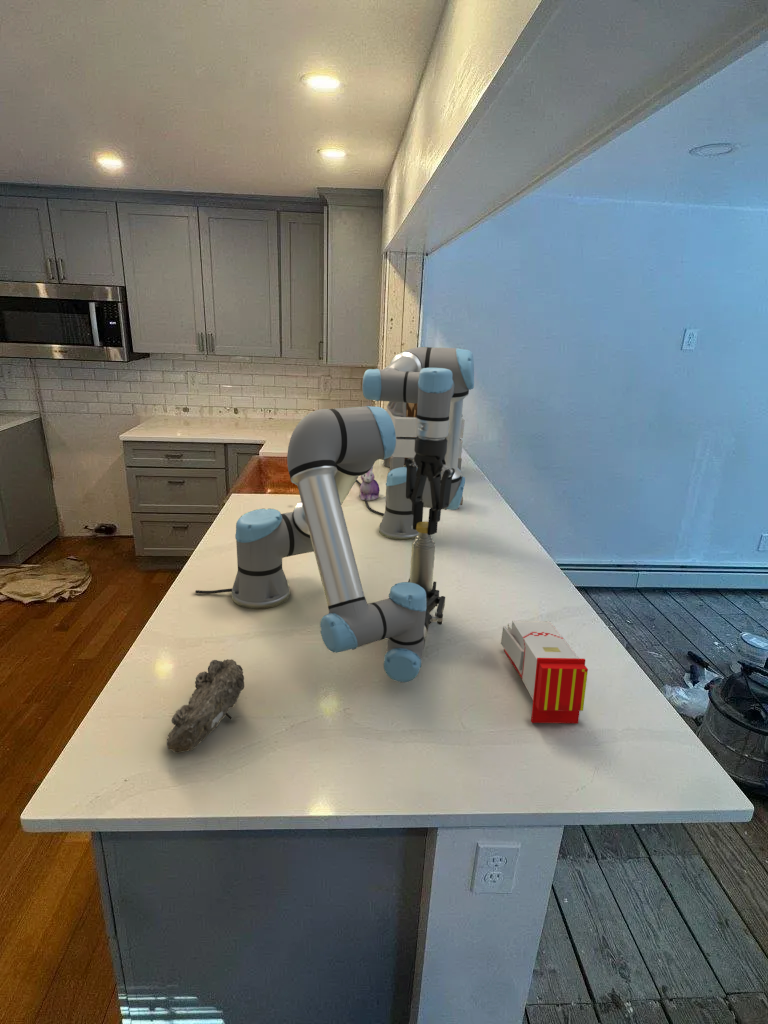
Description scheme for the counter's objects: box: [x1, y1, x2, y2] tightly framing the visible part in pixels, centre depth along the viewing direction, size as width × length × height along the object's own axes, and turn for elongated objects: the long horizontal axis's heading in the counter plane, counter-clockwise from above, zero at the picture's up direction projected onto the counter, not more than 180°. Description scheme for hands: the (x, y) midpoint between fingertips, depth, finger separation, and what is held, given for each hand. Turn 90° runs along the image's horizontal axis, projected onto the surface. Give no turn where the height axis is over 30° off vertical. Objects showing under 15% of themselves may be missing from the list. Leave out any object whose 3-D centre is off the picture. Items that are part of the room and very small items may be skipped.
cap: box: [416, 521, 428, 533], centre depth 139 cm, size 4×4×2 cm
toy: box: [500, 620, 589, 724], centre depth 121 cm, size 12×13×30 cm
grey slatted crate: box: [383, 401, 465, 472], centre depth 268 cm, size 34×33×41 cm
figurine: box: [359, 465, 381, 502], centre depth 233 cm, size 9×10×15 cm
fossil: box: [166, 658, 245, 754], centre depth 106 cm, size 22×10×15 cm
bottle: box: [409, 532, 436, 615], centre depth 143 cm, size 6×6×25 cm
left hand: (422, 584), depth 150 cm, fingers closed on bottle, 6 cm apart
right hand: (424, 530), depth 139 cm, fingers closed on cap, 4 cm apart
